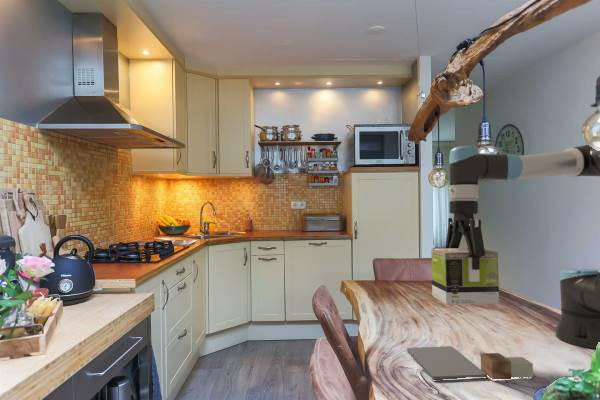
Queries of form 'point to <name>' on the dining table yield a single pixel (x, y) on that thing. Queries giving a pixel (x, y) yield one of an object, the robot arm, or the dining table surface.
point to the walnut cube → (496, 366)
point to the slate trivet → (444, 363)
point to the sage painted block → (520, 367)
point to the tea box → (464, 278)
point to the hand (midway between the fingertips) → (463, 277)
